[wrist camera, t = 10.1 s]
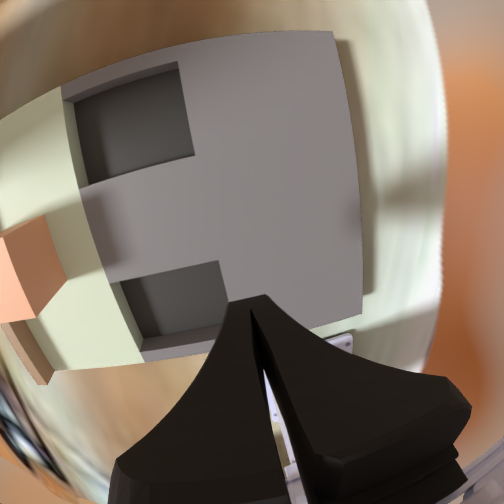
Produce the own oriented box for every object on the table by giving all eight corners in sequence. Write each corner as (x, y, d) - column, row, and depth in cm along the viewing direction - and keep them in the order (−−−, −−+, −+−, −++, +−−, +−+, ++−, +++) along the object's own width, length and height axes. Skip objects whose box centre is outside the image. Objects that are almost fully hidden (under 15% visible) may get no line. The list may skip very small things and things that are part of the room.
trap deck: (350, 300, 21) (373, 327, 18) (53, 356, 20) (37, 384, 16) (320, 40, 14) (345, 21, 11) (-23, 146, 13) (-54, 151, 9)
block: (67, 280, 16) (36, 317, 11) (22, 291, 15) (-10, 324, 11) (44, 214, 14) (2, 237, 10) (0, 231, 14) (-40, 256, 9)
